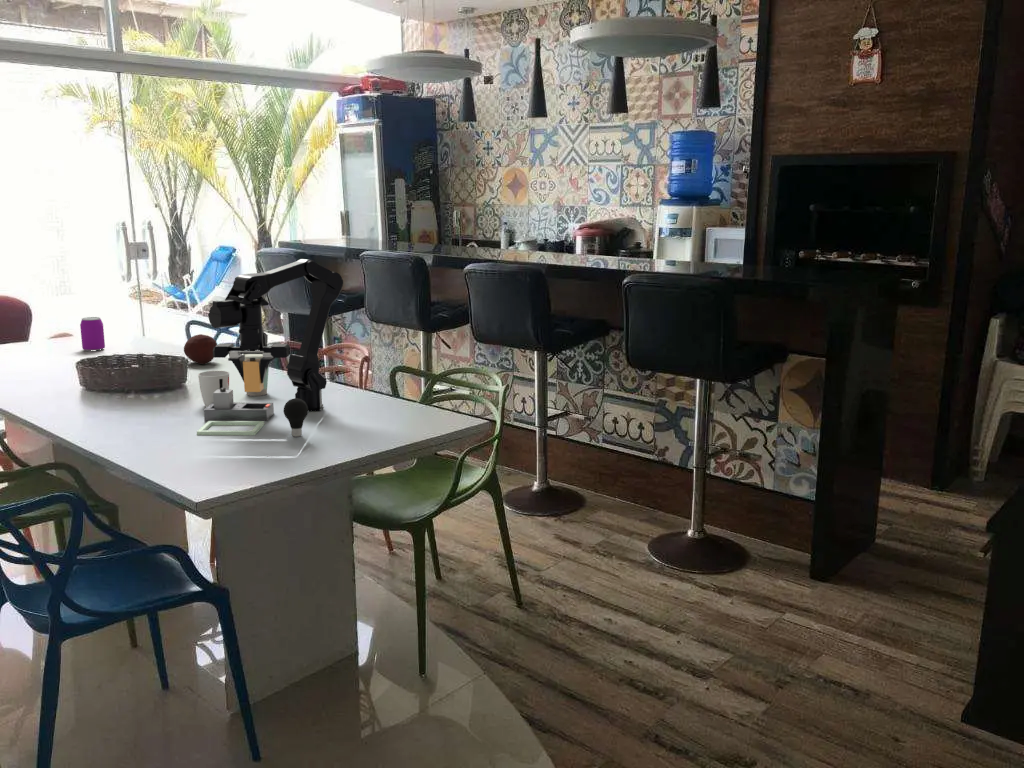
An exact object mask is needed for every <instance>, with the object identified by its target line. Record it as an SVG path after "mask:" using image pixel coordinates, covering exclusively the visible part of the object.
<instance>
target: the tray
mask: <svg viewBox="0 0 1024 768" xmlns="http://www.w3.org/2000/svg"><path fill="white" fill-rule="evenodd" d="M264 425H265V421H206V423H204V424H203V425H202V426H201V427H200V428H199V429H197V430H196V435H197V436H256V434H257V433H259V431H260V430H261V428H262V427H264ZM212 426H254V427H253V428H252V429H251V430H209V428H210V427H212Z"/></svg>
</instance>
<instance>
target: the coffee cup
mask: <svg viewBox="0 0 1024 768" xmlns="http://www.w3.org/2000/svg"><path fill="white" fill-rule="evenodd" d="M242 355H245V360H246V359H250V358H255V359H261V358H262V357H263V354H242ZM269 367H270V365H269V366H268V369H267V372H266V375H265V379H264V389H263V390H262V391H261V392H245V393H246V395H247V396H251V397H260V396H266V395H267V394H268V383H269V369H270V368H269Z"/></svg>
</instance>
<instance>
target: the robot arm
mask: <svg viewBox="0 0 1024 768" xmlns="http://www.w3.org/2000/svg"><path fill="white" fill-rule="evenodd" d="M302 277H304V279H305V280H306V281H308V282H309V283H311V287H310V291H311V295H312V296H311V297H312V303H311V306H310V312H309V314H308V319H307V323H306V326H305V328H304V333H303V336H302V340H301V343H300V347H299V349H298V351H297V352H296V353H295V354H293V353H291V345H289V344H288V343H274V344H273V345H272V346H268V339H269V335H268V333H266V332H264V326H263V313H262V312H263V311H262V307H265V306H266V307H267V306H269V305H270V304H269V303H270V302H268V301H267V300H266V299H264V297H263V296H264V295H266V294H268V293H269V292H270V291H271V290H273V288H274V287H277V286H280V285H283V284H286V283H288V282H291V281H294V280H297V279H299V278H302ZM343 287H344V280H343V277H342V275H341V274H340V273H338V272H337V271H332V270H330V269H328V268H326V267H324V266H322V265H320V264H318V263H317V262H315V260H312V259H306V258H300V259H298V260H297V261H294V262H293V261H292V262H291V263H288V264H285V265H282V266H279V267H276V268H272V269H270V270H267V271H265V272H254V273H253V272H252V273H244V274H239V275H237V276H236V277H235V278H234V281H233V285H232V287H231V289H230V290H229V292H228V294H226V295H227V296H226V297H225V299H224V300H213V301H212V302H211V303H212V306H211V307H209V310H208V311H209V312H208V313H207V315H208V320H209V323H210V325H211V326H212V327H213V328H214V329H221V328H231V327H238V326H239V328H238V334H239V342H240V343H239V344H240V345H239V346H235V345H234V343H230V342H229V343H227V342H225V343H224V342H223V343H217V346H215V347H214V348H213V357H214V359H215V358H216V359H218V358H222V359H223V358H226V357H227V356H228V358H227V361H230V362H232V364H233V365H234V366H235V368H236V369H237V372H238V373H239V375H240V377H241V380H242V382H244V372H243V361H245V355H243V354H263V357H262V358H261V359H260V379H261V383H263V382H264V379H265V375H266V372H267V369H268V366H269V367H270V363H271V362H272V361H274V360H275V359H284V358H285V359H286V358H288V357H289V359H288V363H287V365H286V366H285V368H286V373H287V374H286V375H287V376H288V378H289V380H290V381H291V383H292V386H293V387H295V388H296V387H297V388H296V392H295V394H294V397H295V398H298V399H301V400H303V401H304V402H305V403H306V404H307V406H308V412H320V411H321V410H322V409H323V407H324V404H323V395H322V394H323V393H322V392H323V391H322V390H323V389H324V390H325V389H326V387H327V382H328V381H327V380H326V379H325V378H324V377H323V376H322V375H321V374H320V360H319V356H318V354H319V349H320V346H321V342H322V338H323V335H324V332H325V328H326V324H327V320H328V316H329V312H330V309H331V306H332V304H333V303H334V302H335V300H337V299H338V297H339V296H340V294H341V291H342V289H343Z"/></svg>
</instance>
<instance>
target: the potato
mask: <svg viewBox="0 0 1024 768" xmlns="http://www.w3.org/2000/svg"><path fill="white" fill-rule="evenodd" d="M217 345H218V343H217V341H216V339H215V338H214V337H211V336H209V335H207V334H197V335H193V336H191V337H190V338H189V339H188V340H187V341H186V342H185V343H184V346H183V353H184V355H185V356H186V357H187V358H188V359H189V360H191V361H192V362H194V363H196V364H200V365H206V364H209V363H211V362H212V361H213V360H214V359H215V357H213V348H214V347H215V346H217Z"/></svg>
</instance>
